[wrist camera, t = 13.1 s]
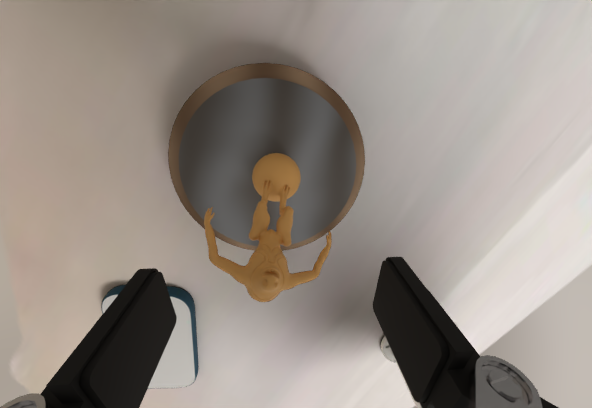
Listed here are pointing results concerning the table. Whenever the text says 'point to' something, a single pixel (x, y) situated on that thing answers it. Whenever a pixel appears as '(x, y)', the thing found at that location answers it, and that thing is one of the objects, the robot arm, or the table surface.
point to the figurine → (268, 233)
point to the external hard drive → (173, 342)
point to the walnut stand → (265, 151)
